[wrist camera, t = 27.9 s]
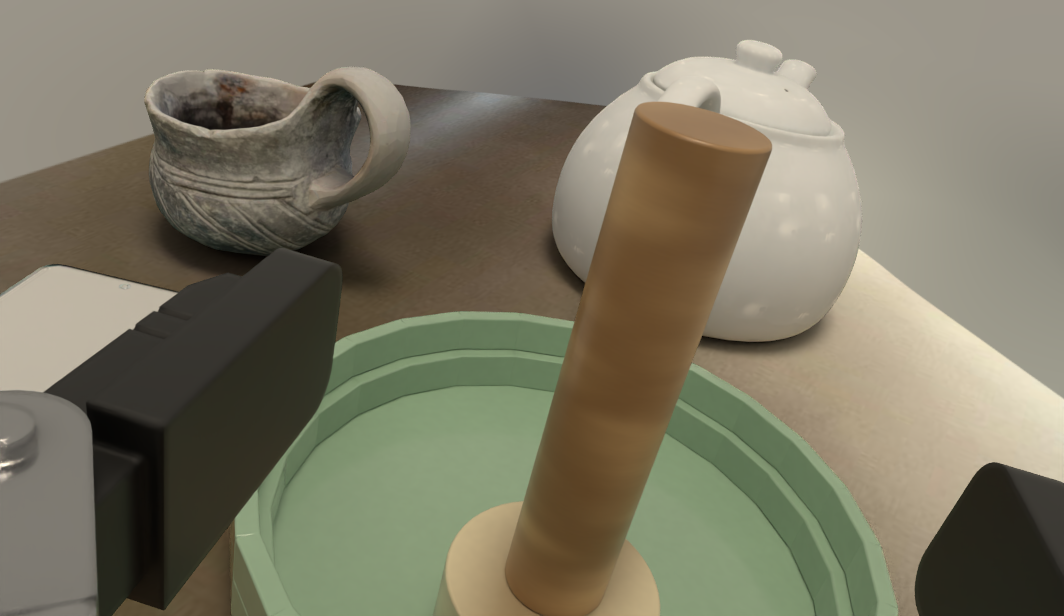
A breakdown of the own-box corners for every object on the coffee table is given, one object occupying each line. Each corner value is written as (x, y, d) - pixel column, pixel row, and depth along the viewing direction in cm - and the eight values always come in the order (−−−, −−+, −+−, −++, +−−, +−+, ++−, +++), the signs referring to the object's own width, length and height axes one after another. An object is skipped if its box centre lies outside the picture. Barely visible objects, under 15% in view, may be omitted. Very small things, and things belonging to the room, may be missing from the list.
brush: (383, 671, 20) (499, 94, 13) (494, 544, 25) (624, 64, 18) (576, 802, 19) (828, 215, 11) (657, 639, 23) (874, 148, 16)
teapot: (500, 196, 52) (546, -23, 46) (745, 225, 58) (818, 33, 51) (576, 358, 37) (663, 62, 30) (901, 376, 42) (1033, 129, 36)
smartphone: (-327, 510, 20) (49, 260, 33) (-321, 527, 20) (50, 272, 33) (-50, 574, 20) (215, 299, 33) (-47, 588, 20) (214, 310, 33)
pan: (63, 610, 21) (54, 511, 19) (450, 331, 36) (464, 263, 35) (787, 1121, 15) (864, 1043, 13) (871, 526, 31) (911, 456, 29)
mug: (228, 182, 45) (235, -3, 40) (431, 251, 43) (464, 66, 38) (98, 239, 37) (88, 15, 32) (344, 328, 35) (372, 104, 30)
